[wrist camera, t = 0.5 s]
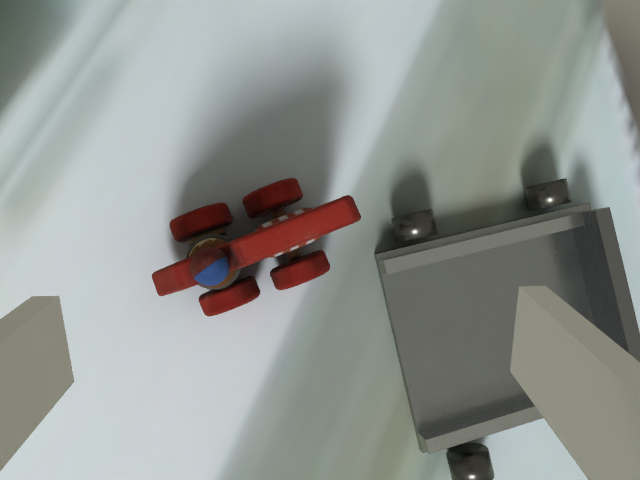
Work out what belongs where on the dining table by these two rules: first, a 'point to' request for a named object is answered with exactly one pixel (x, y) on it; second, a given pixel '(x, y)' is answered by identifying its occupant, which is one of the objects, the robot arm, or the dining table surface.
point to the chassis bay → (493, 314)
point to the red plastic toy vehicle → (251, 246)
